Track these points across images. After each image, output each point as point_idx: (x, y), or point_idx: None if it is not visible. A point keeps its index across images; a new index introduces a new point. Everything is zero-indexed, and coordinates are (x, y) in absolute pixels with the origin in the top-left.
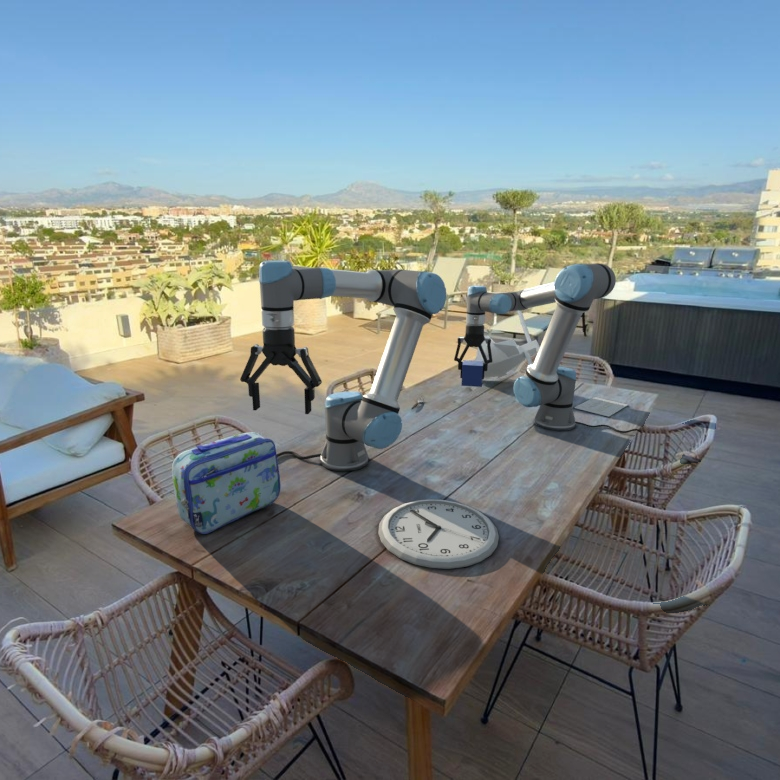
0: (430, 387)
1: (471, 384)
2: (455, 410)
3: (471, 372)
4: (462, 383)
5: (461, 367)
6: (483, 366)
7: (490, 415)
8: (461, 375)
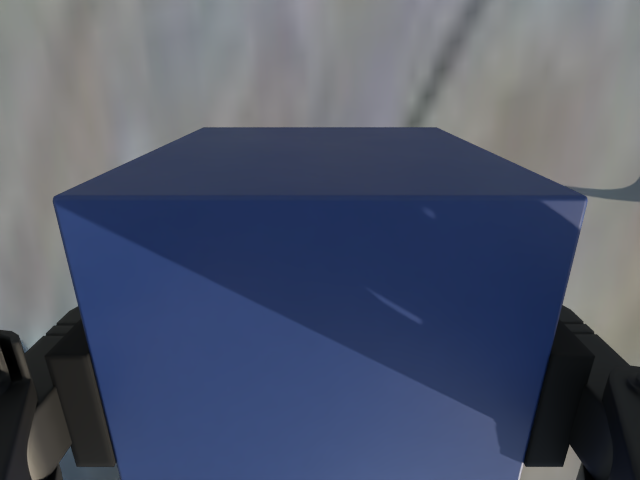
0: (558, 469)
1: (322, 130)
2: (427, 72)
3: (335, 157)
4: (434, 130)
5: None
6: None
7: (166, 12)
8: None
